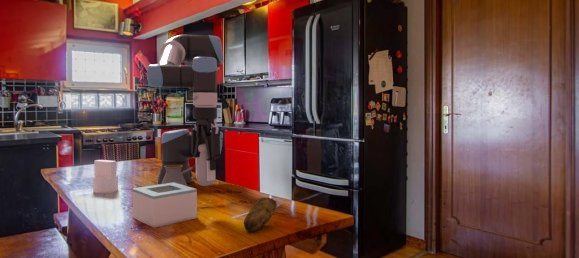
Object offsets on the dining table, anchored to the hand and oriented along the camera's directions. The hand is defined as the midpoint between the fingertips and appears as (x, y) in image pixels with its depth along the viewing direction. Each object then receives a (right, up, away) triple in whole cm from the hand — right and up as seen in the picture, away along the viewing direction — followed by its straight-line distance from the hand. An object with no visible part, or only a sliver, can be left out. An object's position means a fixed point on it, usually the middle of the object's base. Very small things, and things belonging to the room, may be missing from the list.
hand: (205, 178), depth 126 cm
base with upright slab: (-47, -9, +31) cm, 57 cm away
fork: (+16, -12, +2) cm, 20 cm away
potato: (+18, -12, -14) cm, 26 cm away
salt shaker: (0, -2, 0) cm, 2 cm away
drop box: (-11, -11, -5) cm, 17 cm away
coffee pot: (-11, -10, +18) cm, 23 cm away
